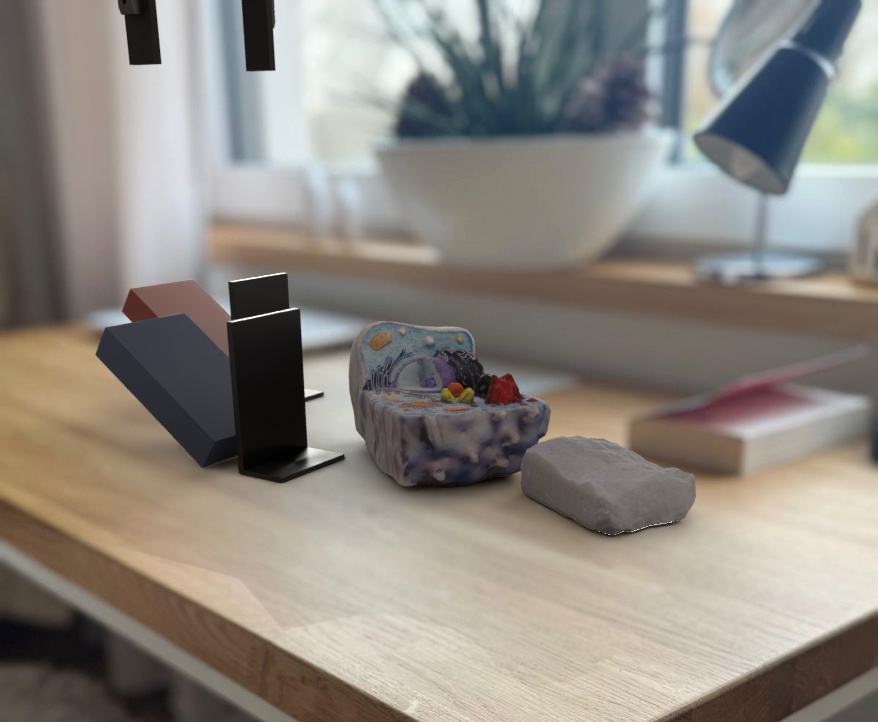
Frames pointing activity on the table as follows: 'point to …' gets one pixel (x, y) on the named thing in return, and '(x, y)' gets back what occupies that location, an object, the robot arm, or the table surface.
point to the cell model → (438, 407)
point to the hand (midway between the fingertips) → (206, 68)
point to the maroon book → (180, 307)
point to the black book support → (271, 398)
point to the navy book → (176, 381)
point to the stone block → (604, 484)
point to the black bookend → (262, 302)
